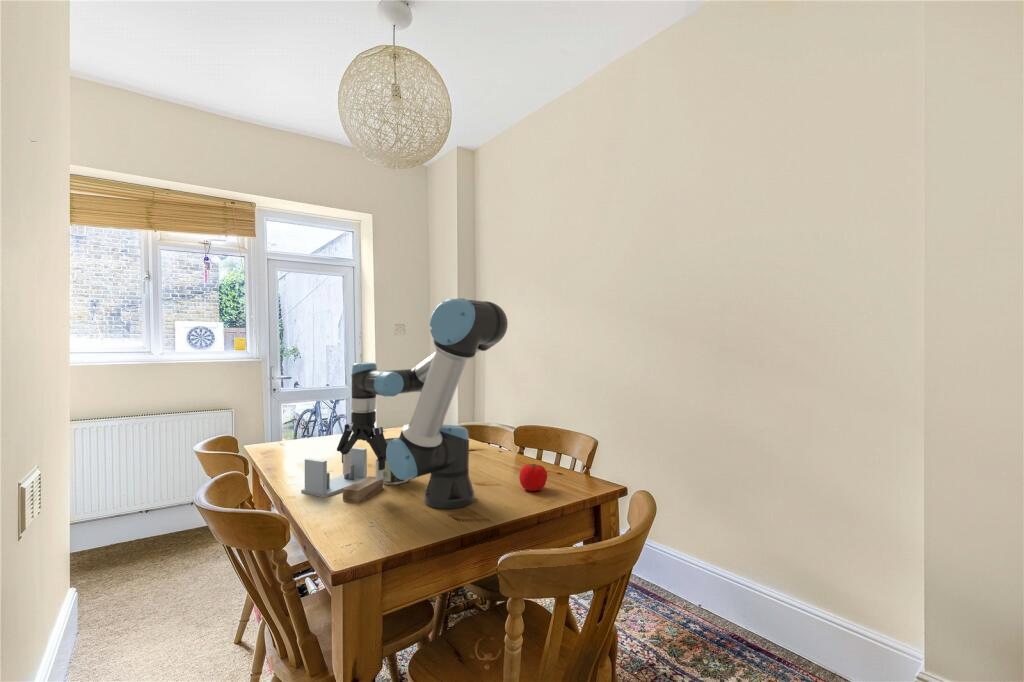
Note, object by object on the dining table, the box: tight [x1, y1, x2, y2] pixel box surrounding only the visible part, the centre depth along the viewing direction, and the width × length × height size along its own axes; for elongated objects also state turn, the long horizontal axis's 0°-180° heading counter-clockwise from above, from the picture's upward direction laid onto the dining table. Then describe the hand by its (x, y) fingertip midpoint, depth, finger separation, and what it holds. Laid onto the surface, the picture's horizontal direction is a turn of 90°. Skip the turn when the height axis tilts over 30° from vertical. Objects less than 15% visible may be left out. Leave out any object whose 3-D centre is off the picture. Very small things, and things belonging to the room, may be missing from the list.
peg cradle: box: [300, 446, 368, 498], centre depth 156 cm, size 11×20×11 cm, turn 155°
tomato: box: [518, 463, 548, 492], centre depth 154 cm, size 9×10×8 cm
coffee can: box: [383, 437, 410, 486], centre depth 163 cm, size 10×10×14 cm
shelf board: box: [342, 475, 384, 504], centre depth 148 cm, size 6×14×4 cm, turn 164°
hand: (362, 476), depth 148 cm, fingers open, 13 cm apart
